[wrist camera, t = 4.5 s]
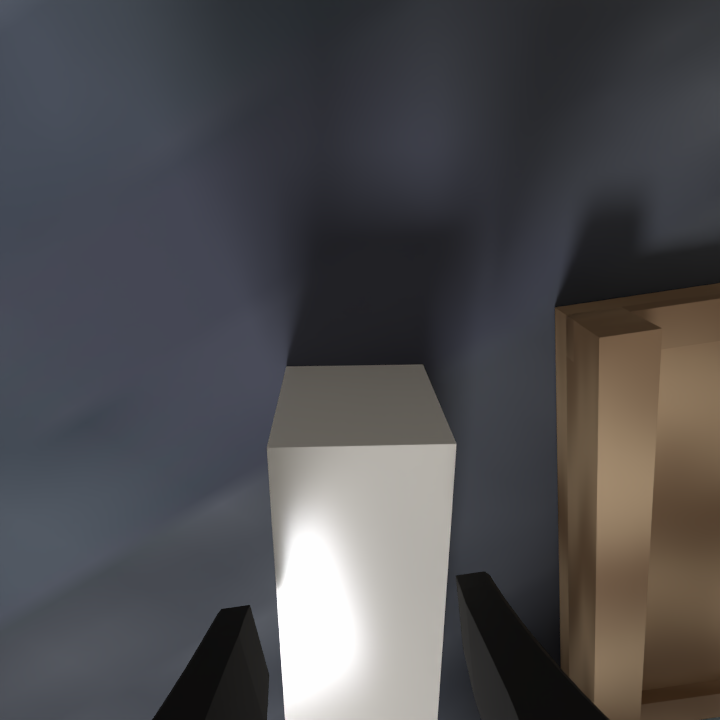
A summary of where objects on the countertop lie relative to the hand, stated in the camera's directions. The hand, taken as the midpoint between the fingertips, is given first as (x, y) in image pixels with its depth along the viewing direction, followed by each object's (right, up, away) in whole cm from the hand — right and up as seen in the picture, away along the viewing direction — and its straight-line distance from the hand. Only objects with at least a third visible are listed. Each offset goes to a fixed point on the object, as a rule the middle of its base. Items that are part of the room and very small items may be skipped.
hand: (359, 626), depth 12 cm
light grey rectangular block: (0, -1, +7) cm, 7 cm away
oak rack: (+11, 0, +7) cm, 13 cm away
